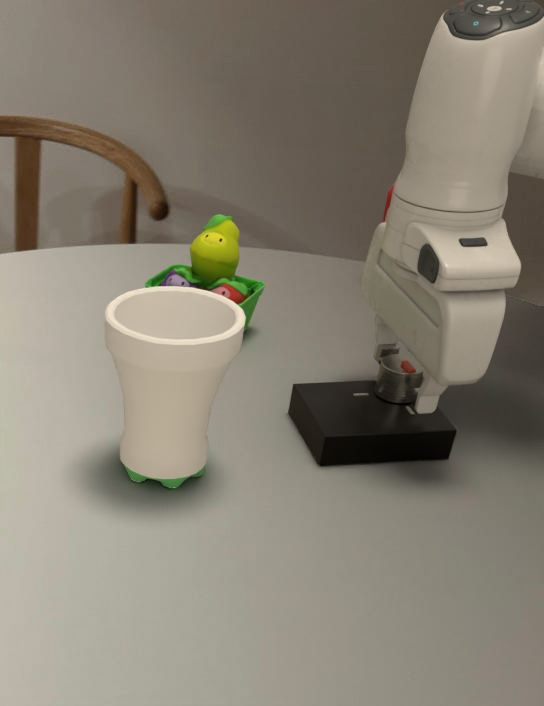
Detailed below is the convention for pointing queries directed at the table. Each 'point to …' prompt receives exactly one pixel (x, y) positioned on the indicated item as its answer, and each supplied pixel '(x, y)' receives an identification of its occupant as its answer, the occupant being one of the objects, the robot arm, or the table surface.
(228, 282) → the fruit basket
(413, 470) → the table surface
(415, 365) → the knob
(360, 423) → the block
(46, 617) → the table surface
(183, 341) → the cup
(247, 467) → the table surface
